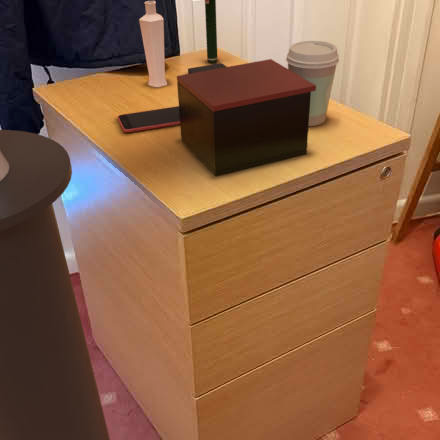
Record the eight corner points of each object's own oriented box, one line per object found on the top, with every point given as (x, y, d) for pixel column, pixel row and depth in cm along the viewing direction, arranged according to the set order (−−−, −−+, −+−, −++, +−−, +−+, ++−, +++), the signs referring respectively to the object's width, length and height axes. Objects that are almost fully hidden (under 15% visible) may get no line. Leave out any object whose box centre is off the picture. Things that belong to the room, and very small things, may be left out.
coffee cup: (335, 129, 97) (342, 55, 89) (283, 129, 97) (287, 56, 90) (330, 109, 103) (337, 39, 96) (282, 109, 104) (285, 39, 96)
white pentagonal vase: (162, 78, 118) (155, -3, 109) (173, 84, 116) (166, 2, 106) (142, 82, 117) (133, 1, 107) (152, 89, 114) (144, 6, 104)
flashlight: (195, 63, 125) (190, -43, 112) (210, 56, 128) (206, -47, 115) (214, 67, 123) (211, -40, 110) (228, 60, 126) (227, -45, 113)
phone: (221, 61, 121) (253, 84, 110) (221, 68, 122) (252, 91, 111) (186, 67, 119) (215, 91, 108) (187, 74, 120) (216, 98, 109)
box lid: (270, 63, 94) (271, 58, 93) (315, 90, 84) (316, 85, 84) (176, 81, 89) (176, 75, 88) (213, 111, 79) (213, 106, 79)
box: (265, 122, 100) (266, 64, 94) (306, 154, 90) (311, 91, 84) (181, 141, 95) (176, 81, 89) (215, 176, 85) (213, 112, 79)
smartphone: (203, 118, 100) (123, 130, 97) (203, 121, 101) (124, 133, 98) (192, 103, 106) (116, 114, 102) (192, 106, 106) (116, 118, 103)
